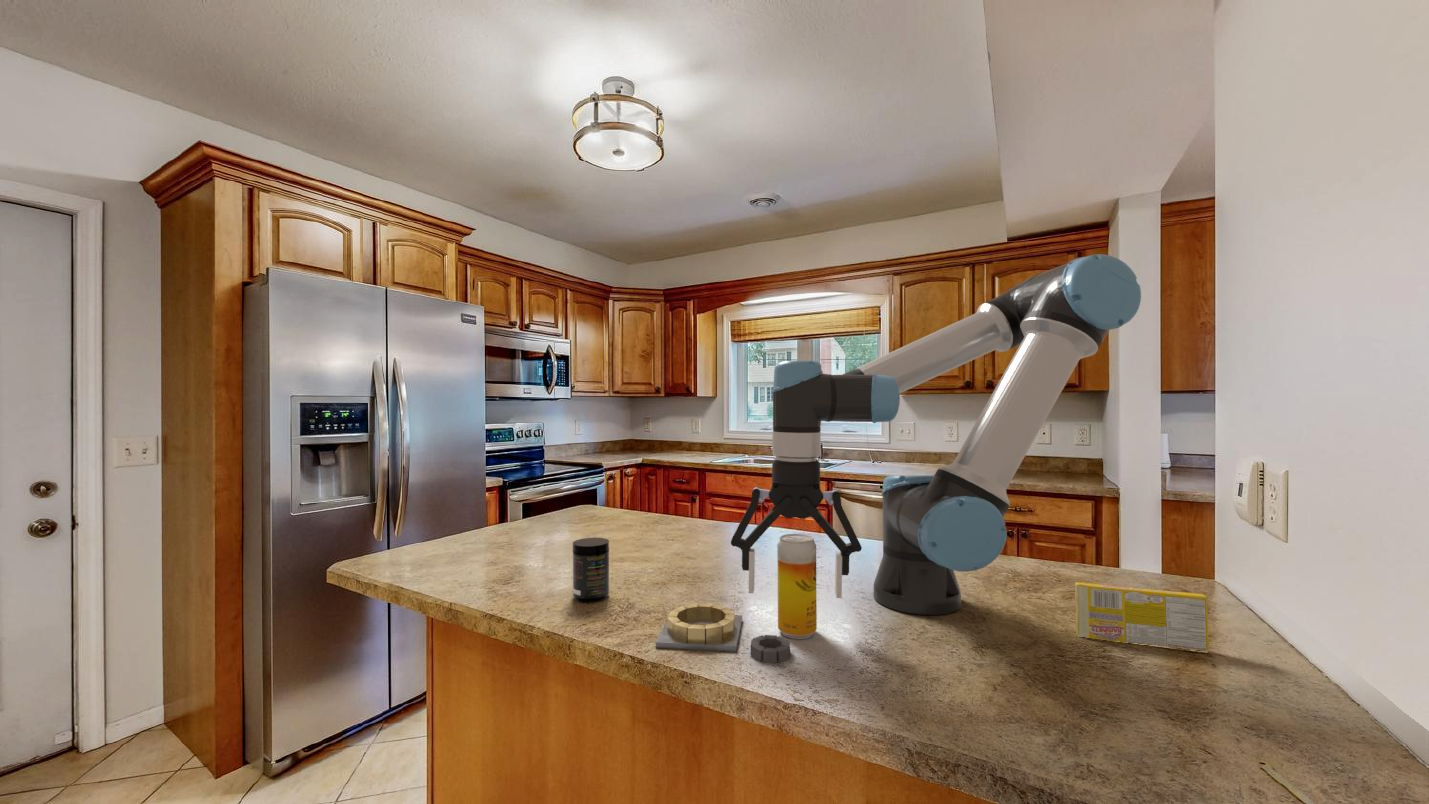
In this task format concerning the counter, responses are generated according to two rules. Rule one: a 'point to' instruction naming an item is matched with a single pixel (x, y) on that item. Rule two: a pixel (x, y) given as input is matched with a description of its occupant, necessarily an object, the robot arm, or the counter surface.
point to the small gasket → (770, 648)
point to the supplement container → (590, 569)
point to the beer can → (797, 586)
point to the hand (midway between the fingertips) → (794, 593)
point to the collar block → (701, 628)
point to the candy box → (1142, 616)
